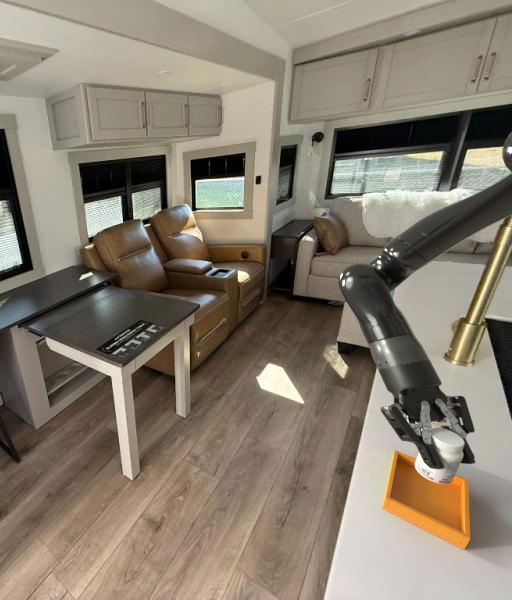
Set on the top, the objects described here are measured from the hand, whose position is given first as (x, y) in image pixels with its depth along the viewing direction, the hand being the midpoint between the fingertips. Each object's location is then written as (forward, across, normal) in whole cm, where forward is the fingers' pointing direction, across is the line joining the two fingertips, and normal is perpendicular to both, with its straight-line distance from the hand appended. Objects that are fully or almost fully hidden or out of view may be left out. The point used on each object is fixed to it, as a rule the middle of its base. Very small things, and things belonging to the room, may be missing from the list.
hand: (452, 465), depth 52 cm
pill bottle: (+2, 0, +4) cm, 5 cm away
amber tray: (+6, 0, +9) cm, 11 cm away
